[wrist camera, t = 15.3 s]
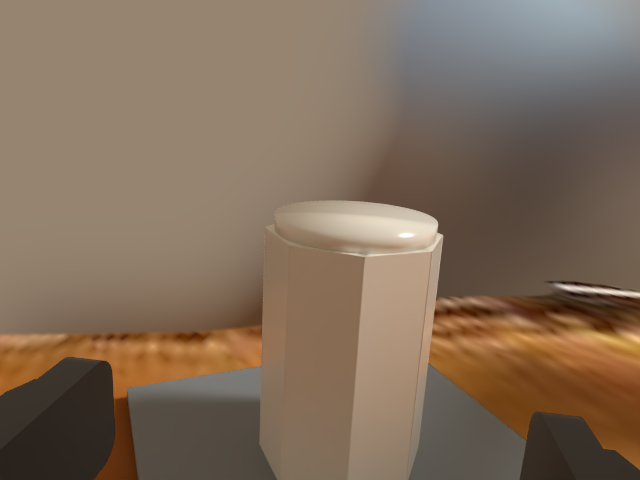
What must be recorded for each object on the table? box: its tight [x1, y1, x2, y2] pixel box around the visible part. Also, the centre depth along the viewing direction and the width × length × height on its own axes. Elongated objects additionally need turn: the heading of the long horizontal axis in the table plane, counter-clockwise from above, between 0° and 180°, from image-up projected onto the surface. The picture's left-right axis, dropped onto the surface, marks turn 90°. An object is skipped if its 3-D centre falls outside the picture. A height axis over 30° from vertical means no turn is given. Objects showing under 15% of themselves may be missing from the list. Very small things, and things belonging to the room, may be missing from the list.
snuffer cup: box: [259, 201, 443, 480], centre depth 20 cm, size 6×6×10 cm
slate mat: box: [127, 363, 527, 480], centre depth 22 cm, size 16×15×1 cm
